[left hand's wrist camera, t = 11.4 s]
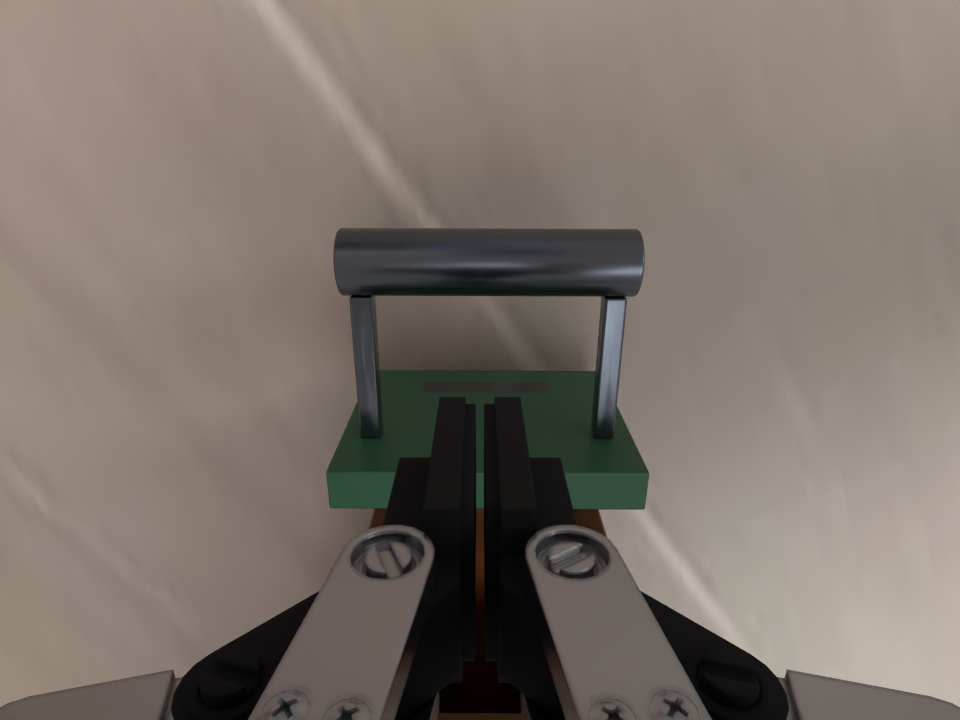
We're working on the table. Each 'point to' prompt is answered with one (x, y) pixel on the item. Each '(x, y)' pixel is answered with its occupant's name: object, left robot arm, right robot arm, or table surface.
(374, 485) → the drawer
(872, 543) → the table surface
